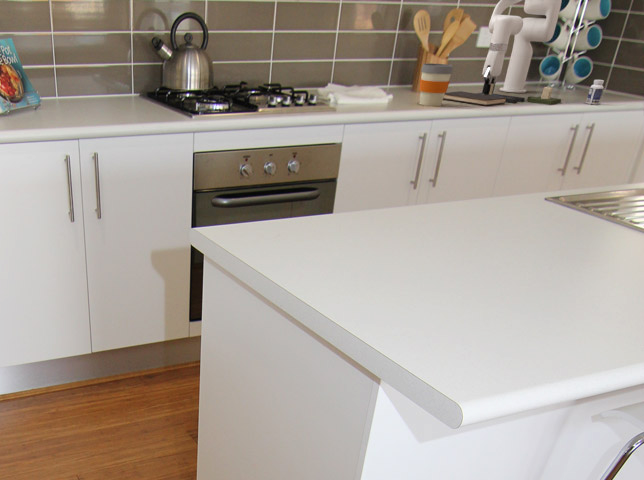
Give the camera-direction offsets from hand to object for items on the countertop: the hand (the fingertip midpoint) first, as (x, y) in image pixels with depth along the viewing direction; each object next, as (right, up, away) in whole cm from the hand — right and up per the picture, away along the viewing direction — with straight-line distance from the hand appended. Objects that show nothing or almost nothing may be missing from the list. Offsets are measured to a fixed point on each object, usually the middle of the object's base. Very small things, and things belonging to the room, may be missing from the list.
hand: (487, 93), depth 333 cm
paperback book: (-11, -9, -11) cm, 18 cm away
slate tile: (+1, -2, 0) cm, 2 cm away
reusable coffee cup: (-34, -17, -24) cm, 45 cm away
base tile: (+7, -6, -5) cm, 11 cm away
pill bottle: (+47, -7, -3) cm, 47 cm away
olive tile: (+23, -6, -3) cm, 24 cm away
